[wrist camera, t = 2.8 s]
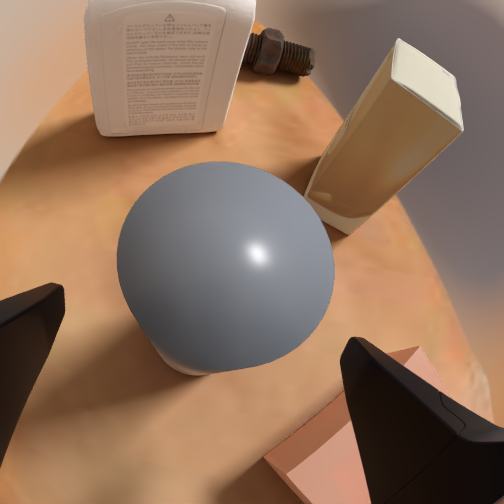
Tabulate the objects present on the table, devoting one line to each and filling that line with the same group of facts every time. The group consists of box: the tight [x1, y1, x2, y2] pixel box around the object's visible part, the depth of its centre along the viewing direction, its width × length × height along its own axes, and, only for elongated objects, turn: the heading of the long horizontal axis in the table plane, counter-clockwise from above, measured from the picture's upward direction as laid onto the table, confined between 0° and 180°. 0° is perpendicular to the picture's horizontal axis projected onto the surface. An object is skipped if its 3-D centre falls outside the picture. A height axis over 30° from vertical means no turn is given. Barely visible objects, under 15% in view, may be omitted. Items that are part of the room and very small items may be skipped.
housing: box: [263, 346, 452, 504], centre depth 15 cm, size 10×10×4 cm
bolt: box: [242, 28, 315, 77], centre depth 26 cm, size 6×5×15 cm
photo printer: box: [84, 0, 256, 136], centre depth 17 cm, size 10×4×12 cm, turn 101°
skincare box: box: [304, 39, 464, 235], centre depth 18 cm, size 6×4×12 cm
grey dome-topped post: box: [117, 162, 334, 376], centre depth 12 cm, size 5×5×12 cm
